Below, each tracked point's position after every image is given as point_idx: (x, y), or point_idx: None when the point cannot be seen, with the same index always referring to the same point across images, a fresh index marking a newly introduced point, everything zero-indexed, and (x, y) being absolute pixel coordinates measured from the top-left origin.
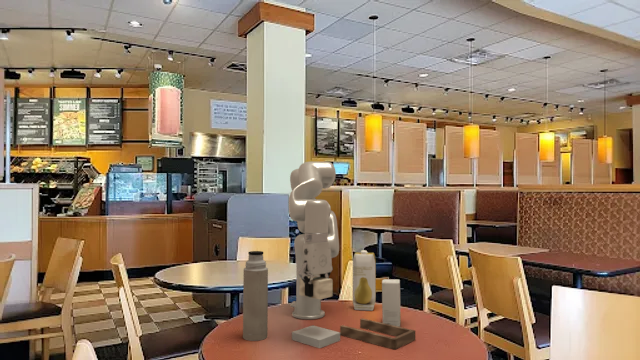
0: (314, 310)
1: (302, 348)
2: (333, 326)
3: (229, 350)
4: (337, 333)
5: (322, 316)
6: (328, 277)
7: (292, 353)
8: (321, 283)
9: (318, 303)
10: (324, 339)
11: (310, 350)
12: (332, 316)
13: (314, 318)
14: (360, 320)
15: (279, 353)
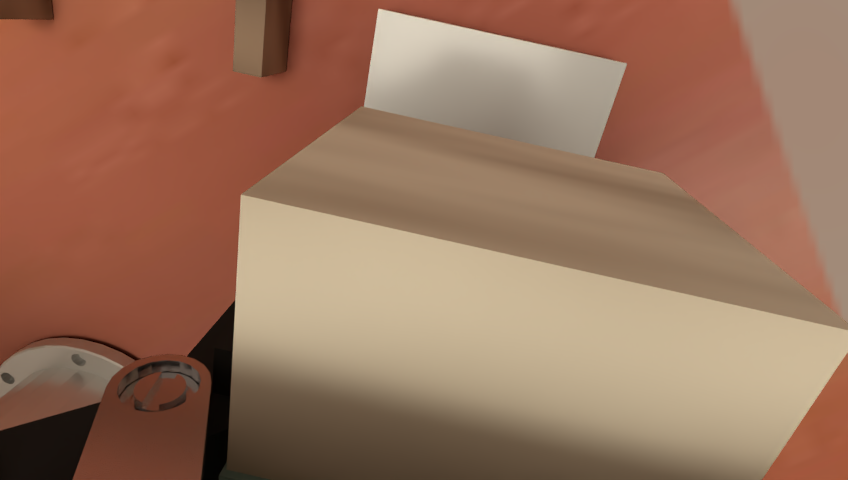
0: (83, 398)
1: (654, 161)
2: (162, 200)
3: (821, 463)
4: (411, 17)
5: (66, 339)
6: (108, 396)
7: (767, 168)
8: (761, 284)
9: (14, 416)
10: (568, 51)
11: (672, 95)
12: (6, 298)
13: (130, 359)
14: (7, 16)
15: (791, 235)
